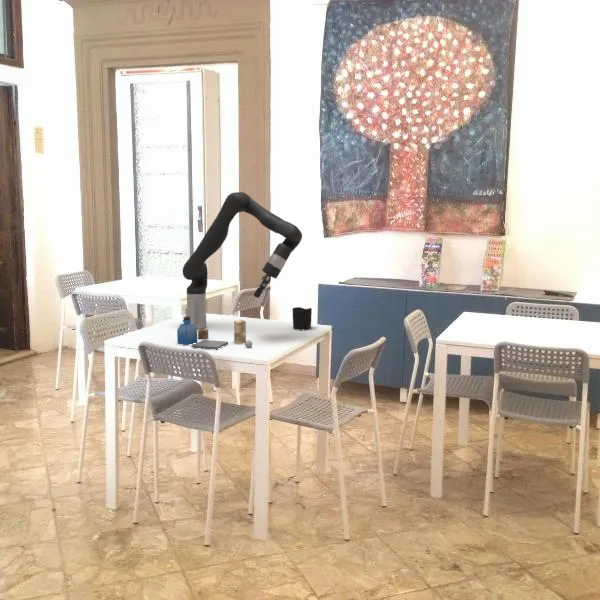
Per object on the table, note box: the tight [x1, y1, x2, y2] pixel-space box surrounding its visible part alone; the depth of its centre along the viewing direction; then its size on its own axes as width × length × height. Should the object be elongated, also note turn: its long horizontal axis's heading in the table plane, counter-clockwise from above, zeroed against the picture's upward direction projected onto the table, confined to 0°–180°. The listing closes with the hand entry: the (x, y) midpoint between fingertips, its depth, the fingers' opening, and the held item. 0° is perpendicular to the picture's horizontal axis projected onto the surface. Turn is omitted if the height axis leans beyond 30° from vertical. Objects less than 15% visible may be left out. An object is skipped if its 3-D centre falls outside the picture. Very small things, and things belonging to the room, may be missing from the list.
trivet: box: [190, 339, 229, 350], centre depth 321 cm, size 12×12×1 cm
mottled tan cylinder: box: [233, 319, 247, 345], centre depth 326 cm, size 4×4×10 cm
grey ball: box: [244, 339, 253, 348], centre depth 318 cm, size 3×3×3 cm
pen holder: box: [291, 306, 313, 330], centre depth 359 cm, size 9×9×10 cm
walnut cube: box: [197, 328, 209, 340], centre depth 337 cm, size 4×4×4 cm
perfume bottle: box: [176, 315, 198, 346], centre depth 326 cm, size 6×6×12 cm
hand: (255, 296), depth 328 cm, fingers open, 8 cm apart
